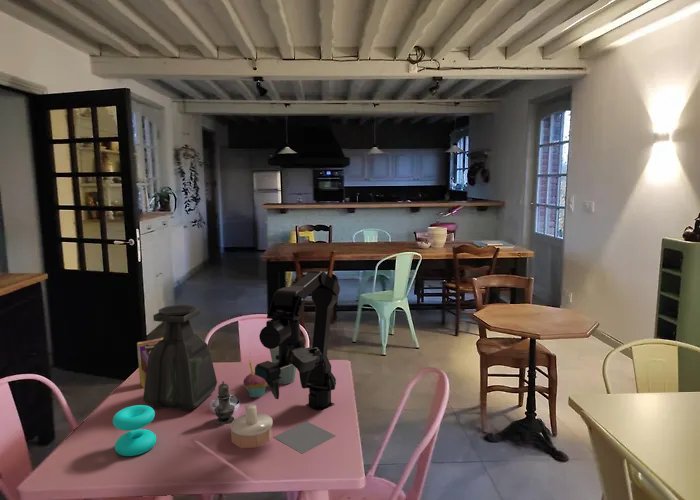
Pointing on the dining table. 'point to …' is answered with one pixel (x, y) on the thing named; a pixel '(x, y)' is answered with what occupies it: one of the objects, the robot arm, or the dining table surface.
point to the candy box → (145, 357)
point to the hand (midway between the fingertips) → (290, 393)
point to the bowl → (251, 439)
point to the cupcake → (255, 384)
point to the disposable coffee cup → (286, 373)
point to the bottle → (179, 363)
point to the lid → (251, 423)
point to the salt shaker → (224, 406)
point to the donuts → (134, 430)
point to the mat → (304, 437)
